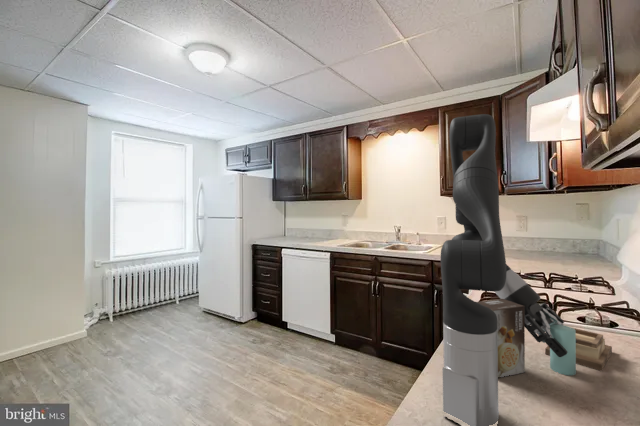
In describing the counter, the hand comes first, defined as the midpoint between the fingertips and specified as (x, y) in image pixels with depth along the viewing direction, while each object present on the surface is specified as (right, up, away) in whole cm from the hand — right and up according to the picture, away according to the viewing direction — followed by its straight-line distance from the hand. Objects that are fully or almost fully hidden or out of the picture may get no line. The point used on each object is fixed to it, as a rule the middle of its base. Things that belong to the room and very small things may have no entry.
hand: (569, 349), depth 72 cm
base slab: (+10, -5, +9) cm, 14 cm away
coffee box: (-15, -6, +2) cm, 17 cm away
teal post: (-1, -5, +1) cm, 5 cm away
